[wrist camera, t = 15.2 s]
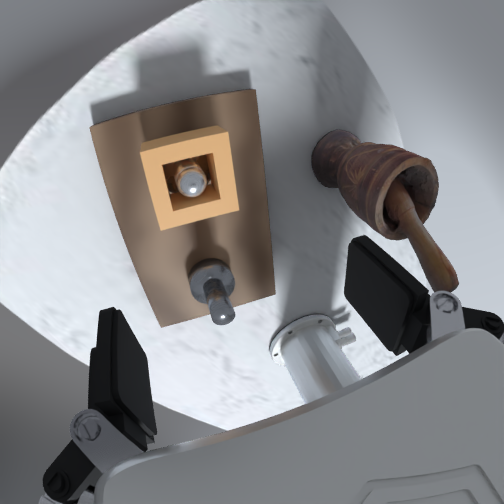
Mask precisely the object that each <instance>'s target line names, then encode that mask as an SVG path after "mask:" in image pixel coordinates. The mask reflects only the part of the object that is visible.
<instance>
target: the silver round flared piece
mask: <svg viewBox="0 0 504 504" xmlns="http://www.w3.org/2000/svg"><path fill="white" fill-rule="evenodd" d="M163 168H164V172H165V176H166V181H167V185H168V189H169V191H170V192H172V193H177V192H180V193H181V194H183V195H184V196H187V197H196V196H198V195H200V194H201V193H202V192H203V191H204V190H205V188H206V185H207V184H208V183H209V181H210V180H211V179H210V173H209V167H208V162H207V156H206V154H205V155H200V156H196V157H192V158H187V159H183V160H179V161H175V162H171V163H167V164H163Z"/></svg>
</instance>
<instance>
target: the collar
mask: <svg viewBox="0 0 504 504" xmlns="http://www.w3.org/2000/svg"><path fill="white" fill-rule="evenodd" d="M205 154H206V156H207V162H208V167H209V173H210V179H211V184H209V185H206V188H205V190H204V191H203V192H202V193H201V194H200V195H198V196H196V197H187V196H184V195H183V194H181V193H180V192H177V193H173V194H170V193H169V189H168V185H167V181H166V176H165V172H164V168H163V164H167V163H171V162H175V161H179V160H183V159H187V158H192V157H196V156H200V155H205ZM140 155H141V159H142V163H143V168H144V172H145V175H146V179H147V183H148V187H149V191H150V195H151V198H152V202H153V206H154V209H155V213H156V216H157V220H158V223H159V227H160V230H161V231H162V230H166V229H169V228H173V227H177V226H180V225H184V224H188V223H191V222H195V221H199V220H203V219H207V218H211V217H215V216H218V215H222V214H226V213H230V212H234V211H238V210H239V205H238V198H237V191H236V184H235V177H234V170H233V163H232V156H231V148H230V141H229V134H228V132H227V131H226V130H224V129H223V128H221V127H219V126H218V125H217V126H211V127H206V128H201V129H197V130H192V131H188V132H183V133H179V134H175V135H170V136H166V137H162V138H158V139H155V140H151V141H147V142H143V143H142V144H141V149H140Z"/></svg>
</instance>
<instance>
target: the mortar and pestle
mask: <svg viewBox="0 0 504 504" xmlns="http://www.w3.org/2000/svg"><path fill="white" fill-rule="evenodd" d="M312 168H313V171H314V173H315V176H316V177H317V179H318V180H319V182H321V184H322V185H324V186H325V187H329V188H339V191H340V192H341V195H342V196H343V198H344V199H345V201H346V203H347V204H348V206H349V207H350V208H351V209H352V211H353V212H354V213H355V214H356V215H357V216H358V217H359V218H361V219H362V220H363V221H364V222H366V223H367V224H368V225H369V226H370V227H371V228H372V229H373V230H375V231H376V232H378V233H379V234H381V235H382V236H384V237H385V238H387V239H390V240H402V239H406V238H408V239H409V241H410V243H411V245H412V247H413V249H414V251H415V253H416V255H417V257H418V259H419V262H420V264H421V266H422V269H423V271H424V273H425V276H426V278H427V280H428V282H429V283H430V285H431V287H432V289H433V291H434V292H437V291H447V292H450V293H451V292H452V291H454V290H455V289H456V288H457V286H458V285H459V282H458V278H457V274H456V272H455V270H454V268H453V266H452V265H451V263H450V261H449V260H448V259H447V257H446V256H445V254H444V253H443V252H442V250H441V249H440V248H439V247H438V245H437V244H436V243H435V241H434V240H433V238H432V237H431V235H430V234H429V233H428V231H427V230H426V228H425V227H424V225H423V224H424V223H425V221H426V220H427V219H428V217H429V215H430V213H431V211H432V209H433V208H434V206H435V203H436V198H437V195H438V188H439V183H438V176H437V172H436V169H435V167H434V166H433V164H432V162H431V160H429V159H428V158H424V157H421V156H419V155H417V154H415V153H412V152H409V151H406V150H405V149H402V148H400V147H397V146H394V145H385V144H375V143H371V142H365V143H361V141H360V140H359V139H358V138H357V137H356V136H355V135H353V134H352V133H350V132H347V131H343V130H339V129H336V130H335V131H332V132H330V133H328V134H327V135H325V136H324V137H323V138H322V139H321V140H320V141H319V142H318V144H317V145H316V147H315V149H314V151H313V155H312Z"/></svg>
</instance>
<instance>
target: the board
mask: <svg viewBox="0 0 504 504" xmlns="http://www.w3.org/2000/svg"><path fill="white" fill-rule="evenodd" d="M217 125H218V126H219V127H221V128H223V129H224V130H226V131H227V132H228V134H229V141H230V148H231V156H232V163H233V170H234V177H235V184H236V191H237V198H238V205H239V210H238V211H234V212H230V213H226V214H222V215H218V216H215V217H211V218H207V219H203V220H199V221H195V222H191V223H188V224H184V225H180V226H177V227H173V228H169V229H166V230H162V231H161V230H160V227H159V223H158V220H157V216H156V213H155V209H154V206H153V202H152V198H151V195H150V191H149V187H148V183H147V179H146V175H145V172H144V168H143V163H142V159H141V155H140V149H141V144H142V143H143V142H147V141H151V140H155V139H158V138H162V137H166V136H170V135H175V134H179V133H183V132H188V131H192V130H197V129H201V128H206V127H211V126H217ZM90 132H91V136H92V140H93V143H94V147H95V151H96V155H97V158H98V162H99V165H100V169H101V172H102V176H103V179H104V182H105V186H106V189H107V192H108V195H109V198H110V201H111V204H112V207H113V210H114V213H115V216H116V219H117V222H118V225H119V228H120V230H121V233H122V236H123V239H124V241H125V244H126V247H127V249H128V252H129V254H130V257H131V260H132V262H133V265H134V267H135V270H136V272H137V274H138V277H139V279H140V282H141V284H142V286H143V289H144V291H145V293H146V296H147V298H148V300H149V303H150V305H151V307H152V309H153V311H154V314H155V316H156V318H157V320H158V322H159V324H160V326H161V328H162V327H166V326H169V325H173V324H177V323H180V322H184V321H188V320H191V319H195V318H198V317H202V316H205V315H209V314H210V311H209V308H208V304H204V303H201V302H198V301H197V300H196V299H195V298H194V297H193V296H192V294H191V290H190V286H189V282H188V275H189V272H190V270H191V268H192V267H193V266H194V265H195V264H196V263H198V262H199V261H201V260H204V259H207V258H217V259H221V260H223V261H224V262H226V263H227V264H228V266H229V268H230V270H231V272H232V274H233V276H234V279H235V288H234V290H233V292H232V294H231V295H230V296H229V299H230V302H231V304H232V307H236V306H239V305H243V304H246V303H249V302H252V301H256V300H259V299H262V298H265V297H268V296H272V295H275V294H276V292H275V280H274V268H273V256H272V245H271V233H270V223H269V212H268V201H267V191H266V181H265V171H264V161H263V152H262V142H261V133H260V124H259V115H258V106H257V97H256V89H246V90H238V91H231V92H225V93H218V94H212V95H207V96H201V97H196V98H191V99H186V100H181V101H177V102H172V103H168V104H164V105H160V106H156V107H152V108H148V109H144V110H140V111H137V112H133V113H130V114H126V115H123V116H119V117H116V118H113V119H110V120H107V121H104V122H101V123H98V124H95V125H93V126H91V127H90ZM209 184H211V180H210V181H209V183H208V184H207V185H209ZM169 193H170V194H173V193H172V192H170V191H169Z"/></svg>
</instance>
